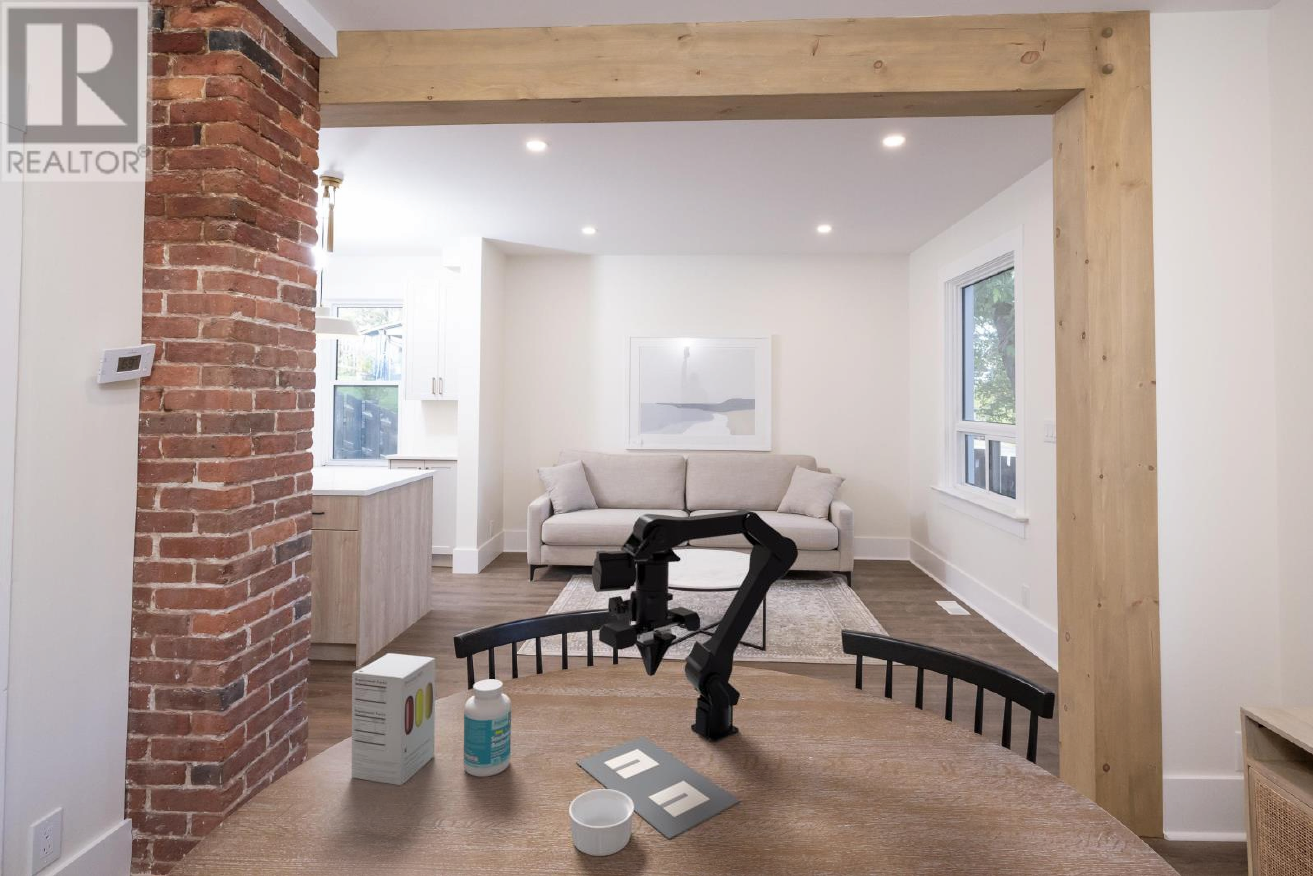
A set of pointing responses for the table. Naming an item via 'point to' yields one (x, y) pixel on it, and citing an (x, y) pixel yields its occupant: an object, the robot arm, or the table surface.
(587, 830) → the ramekin
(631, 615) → the robot arm
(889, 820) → the table surface
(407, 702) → the supplement box
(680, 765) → the slate mat
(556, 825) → the table surface
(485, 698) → the pill bottle
